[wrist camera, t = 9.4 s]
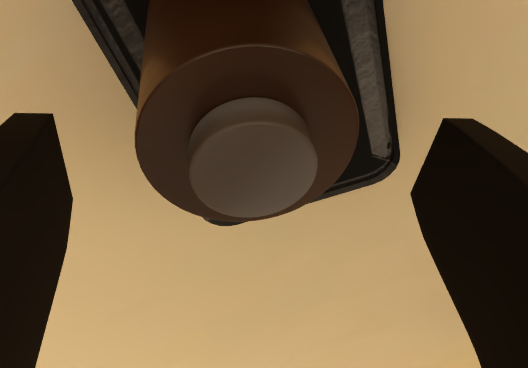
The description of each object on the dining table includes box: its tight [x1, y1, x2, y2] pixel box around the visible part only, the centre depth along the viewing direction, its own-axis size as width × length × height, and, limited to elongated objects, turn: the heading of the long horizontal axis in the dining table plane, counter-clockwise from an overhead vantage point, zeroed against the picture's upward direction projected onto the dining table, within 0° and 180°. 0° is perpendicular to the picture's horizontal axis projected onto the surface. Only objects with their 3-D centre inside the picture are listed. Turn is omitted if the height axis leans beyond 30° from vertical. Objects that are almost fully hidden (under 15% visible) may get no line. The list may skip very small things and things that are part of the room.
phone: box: [72, 0, 400, 226], centre depth 14 cm, size 8×1×15 cm
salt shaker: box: [135, 0, 359, 222], centre depth 11 cm, size 4×4×7 cm
